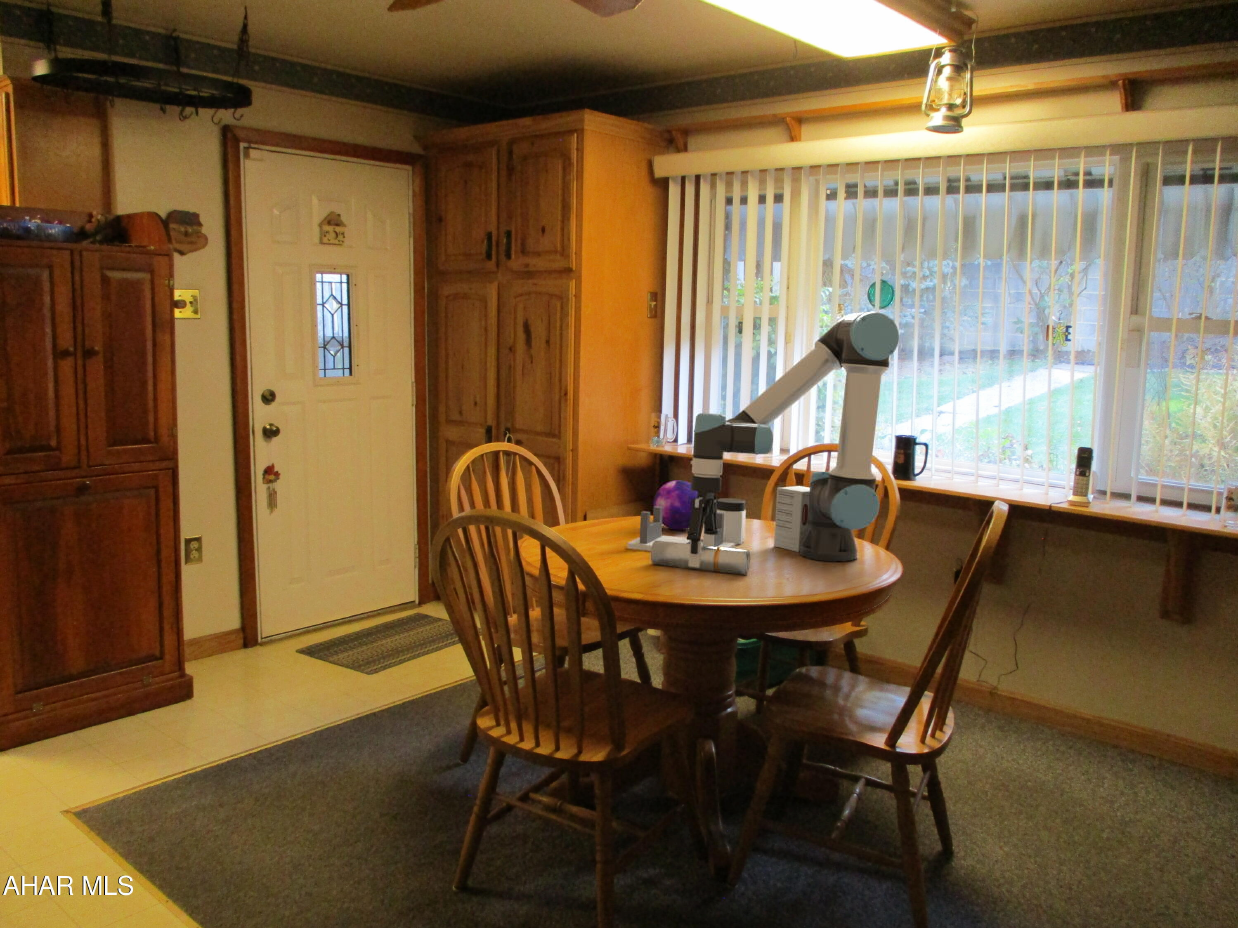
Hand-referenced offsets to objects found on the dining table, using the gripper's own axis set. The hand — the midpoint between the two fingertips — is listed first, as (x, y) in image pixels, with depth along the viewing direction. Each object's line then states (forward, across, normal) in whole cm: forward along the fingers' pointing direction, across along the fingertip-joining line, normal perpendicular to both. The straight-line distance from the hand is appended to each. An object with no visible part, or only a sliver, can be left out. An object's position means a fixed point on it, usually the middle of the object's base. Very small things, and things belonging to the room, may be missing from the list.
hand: (700, 563), depth 241 cm
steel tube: (-2, +2, 0) cm, 3 cm away
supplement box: (0, -37, +17) cm, 41 cm away
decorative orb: (0, -45, -21) cm, 50 cm away
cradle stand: (+1, -19, -12) cm, 23 cm away
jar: (0, -35, -2) cm, 35 cm away
